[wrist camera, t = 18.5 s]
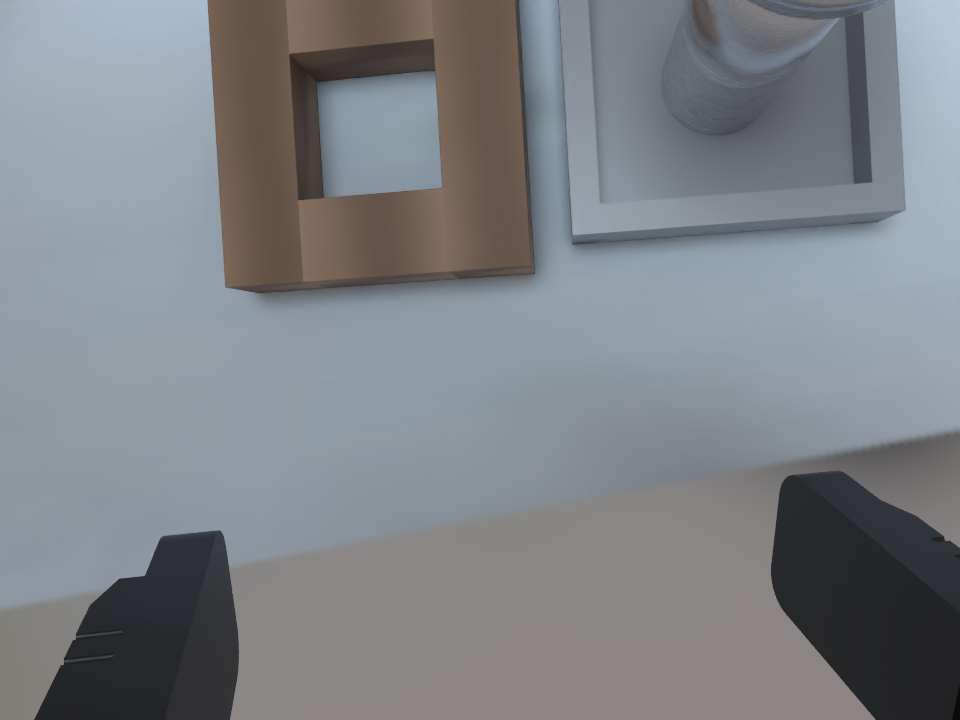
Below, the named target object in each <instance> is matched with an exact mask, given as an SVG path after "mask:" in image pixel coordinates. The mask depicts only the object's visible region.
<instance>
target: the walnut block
mask: <svg viewBox="0 0 960 720" xmlns="http://www.w3.org/2000/svg"><path fill="white" fill-rule="evenodd" d="M208 14H209V30H210V47H211V63H212V79H213V95H214V111H215V127H216V143H217V159H218V175H219V191H220V207H221V223H222V239H223V255H224V272H225V287H227V288H232V289H238V290H244V291H250V292H256V293H264V292H279V291H293V290H307V289H321V288H336V287H350V286H364V285H378V284H392V283H407V282H421V281H435V280H449V279H463V278H478V277H492V276H506V275H520V274H535V271H534V253H533V236H532V219H531V202H530V185H529V168H528V151H527V134H526V117H525V100H524V83H523V66H522V49H521V32H520V14H519V0H208ZM427 70H435V72H436V88H437V105H438V122H439V139H440V155H441V172H442V188H439V189H427V190H415V191H403V192H391V193H379V194H367V195H355V196H343V197H331V198H323V184H322V167H321V151H320V135H319V118H318V102H317V86H316V82H319V81H329V80H338V79H348V78H358V77H368V76H378V75H388V74H398V73H407V72H417V71H427Z"/></svg>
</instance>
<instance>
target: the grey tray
mask: <svg viewBox="0 0 960 720" xmlns="http://www.w3.org/2000/svg"><path fill="white" fill-rule="evenodd" d="M558 1H559V18H560V35H561V52H562V69H563V87H564V104H565V121H566V138H567V156H568V173H569V190H570V207H571V224H572V242H573V244H584V243H598V242H611V241H625V240H638V239H652V238H665V237H679V236H692V235H706V234H719V233H733V232H746V231H760V230H773V229H786V228H800V227H813V226H827V225H840V224H854V223H867V222H878V221H880V220H883V219H885V218H887V217H890V216H892V215H895V214H897V213H900V212H902V211H904V210H906V207H905V189H904V170H903V152H902V134H901V115H900V97H899V78H898V60H897V41H896V23H895V4H894V0H890V1H888V2H886V3H884V4H882V5H880V6H878V7H875V8H873V9H871V10H869V11H865V12H862V13H859V14H855V15H852V16H847V17H841V18H839V19H838V21H837V22H836V23H835V24H834V26H833V27H832V28H831V29H830V31H829V32H828V33H827V34H826V35H825V37H824V38H823V39H822V40H821V42H820V43H819V44H818V45H817V47H816V48H815V49H814V50H813V51H812V53H811V54H810V55H809V56H808V58H807V59H806V60H805V61H804V63H803V64H802V65H801V66H800V67H799V69H798V70H797V71H796V72H795V74H794V75H793V76H792V77H791V79H790V80H789V81H788V82H787V83H786V85H785V86H784V87H783V88H782V90H781V91H780V92H779V93H778V95H777V96H776V97H775V98H774V99H773V101H772V102H771V103H770V104H769V106H768V107H767V108H766V109H765V110H764V112H763V113H762V114H761V115H760V116H759V117H758V118H757V119H756V120H755V121H754V122H753V123H752V124H750V125H749V126H747V127H745V128H744V129H742V130H739V131H737V132H734V133H731V134H726V135H715V136H714V135H705V134H701V133H698V132H695V131H692V130H690V129H689V128H687V127H685V126H684V125H682V124H681V123H680V122H679V121H678V120H677V119H676V118H675V117H674V116H673V115H672V114H671V112H670V111H669V109H668V107H667V105H666V103H665V101H664V97H663V94H662V87H661V77H662V70H663V67H664V63H665V60H666V57H667V54H668V51H669V48H670V45H671V42H672V39H673V36H674V33H675V30H676V27H677V24H678V21H679V18H680V15H681V12H682V9H683V6H684V3H685V0H558Z"/></svg>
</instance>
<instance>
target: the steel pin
mask: <svg viewBox="0 0 960 720" xmlns="http://www.w3.org/2000/svg"><path fill="white" fill-rule="evenodd" d="M888 1H890V0H685V3H684V6H683V9H682V12H681V15H680V18H679V21H678V24H677V27H676V30H675V33H674V36H673V39H672V42H671V45H670V48H669V51H668V54H667V57H666V60H665V63H664V67H663V70H662V77H661V87H662V94H663V97H664V101H665V103H666V105H667V107H668V109H669V111H670V112H671V114H672V115H673V116H674V117H675V118H676V119H677V120H678V121H679V122H680V123H681V124H682V125H684V126H685V127H687V128H689V129H690V130H692V131H695V132H698V133H701V134H705V135H714V136H715V135H726V134H731V133H734V132H737V131H739V130H742V129H744V128H745V127H747V126H749V125H750V124H752V123H753V122H754V121H755V120H756V119H757V118H758V117H759V116H760V115H761V114H762V113H763V112H764V110H765V109H766V108H767V107H768V106H769V104H770V103H771V102H772V101H773V99H774V98H775V97H776V96H777V95H778V93H779V92H780V91H781V90H782V88H783V87H784V86H785V85H786V83H787V82H788V81H789V80H790V79H791V77H792V76H793V75H794V74H795V72H796V71H797V70H798V69H799V67H800V66H801V65H802V64H803V63H804V61H805V60H806V59H807V58H808V56H809V55H810V54H811V53H812V51H813V50H814V49H815V48H816V47H817V45H818V44H819V43H820V42H821V40H822V39H823V38H824V37H825V35H826V34H827V33H828V32H829V31H830V29H831V28H832V27H833V26H834V24H835V23H836V22H837V21H838V19H839V18H841V17H847V16H852V15H855V14H859V13H862V12H865V11H869V10H871V9H873V8H875V7H878V6H880V5H882V4H884V3H886V2H888Z"/></svg>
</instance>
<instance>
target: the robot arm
mask: <svg viewBox="0 0 960 720" xmlns="http://www.w3.org/2000/svg"><path fill="white" fill-rule="evenodd" d="M771 578H772V584H773V589H774V592H775V595H776V598H777V600H778V602H779V604H780V606H781V608H782V609H783V611H784V612H785V613H786V614H787V616H788V617H789V618H790V619H791V620H792V621H793V623H794V624H795V625H796V626H797V627H798V629H799V630H800V631H801V632H802V633H803V634H804V636H805V637H806V638H807V639H808V640H809V642H810V643H811V644H812V645H813V646H814V647H815V649H816V650H817V651H818V652H819V653H820V654H821V656H822V657H823V658H824V659H825V660H826V661H827V663H828V664H829V665H830V666H831V667H832V668H833V670H834V671H835V672H836V673H837V674H838V676H840V678H841V679H842V680H843V681H844V682H845V684H846V685H847V686H848V687H849V689H850V690H851V691H852V692H853V693H854V694H855V696H856V697H857V698H858V699H859V700H860V701H861V703H862V704H863V705H864V706H865V707H866V709H867V710H868V711H869V712H870V713H871V714H872V716H873V717H874V718H875V719H876V720H960V548H959V547H957V546H956V545H955V544H953V543H952V542H951V541H945V540H944V536H943V535H941V534H940V533H939V532H937V531H936V530H934V529H933V528H932V527H930V526H929V525H928V524H926V523H925V522H923V521H922V520H921V519H919V518H918V517H917V516H915V515H913V514H910V513H908V512H906V511H904V510H901V509H899V508H897V507H895V506H892V505H890V504H888V503H886V502H883V501H881V500H880V499H878V498H877V497H876V496H874V495H873V494H872V493H870V492H869V491H868V490H866V489H865V488H864V487H863V486H861V485H860V484H859V483H857V482H856V481H855V480H853V479H852V478H851V477H849V476H848V475H847V474H845V473H843V472H841V471H830V472H819V473H809V474H799V475H791V476H788V477H787V478H786V479H785V480H784V481H783V483H782V486H781V489H780V494H779V503H778V512H777V520H776V530H775V537H774V546H773V556H772V564H771ZM238 661H239V644H238V630H237V622H236V615H235V608H234V601H233V594H232V586H231V579H230V572H229V565H228V558H227V551H226V545H225V540H224V536H223V534H222V532H221V531H220V530H219V531H209V532H199V533H189V534H179V535H169V536H163V537H161V539H160V540H159V543H158V545H157V548H156V550H155V553H154V555H153V557H152V560H151V562H150V565H149V567H148V570H147V572H146V575H145V576H141V577H132V578H122V579H119V580H117V581H116V582H115V583H114V584H113V585H112V586H111V587H110V588H109V589H108V590H106V591H105V592H104V593H103V594H102V595H101V596H100V597H99V598H98V599H97V600H95V601H94V602H93V603H92V604H91V605H90V607H89V609H88V611H87V613H86V615H85V617H84V619H83V621H82V623H81V625H80V627H79V629H78V631H77V633H76V640H73V641H72V644H71V645H70V648H69V650H68V652H67V654H66V656H65V658H64V665H61V666H60V668H59V670H58V672H57V674H56V676H55V678H54V680H53V683H52V684H51V686H50V689H49V691H48V693H47V695H46V697H45V699H44V701H43V703H42V705H41V707H40V709H39V711H38V713H37V715H36V717H35V719H34V720H230V716H231V710H232V705H233V699H234V693H235V687H236V682H237V675H238V663H239V662H238Z"/></svg>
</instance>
